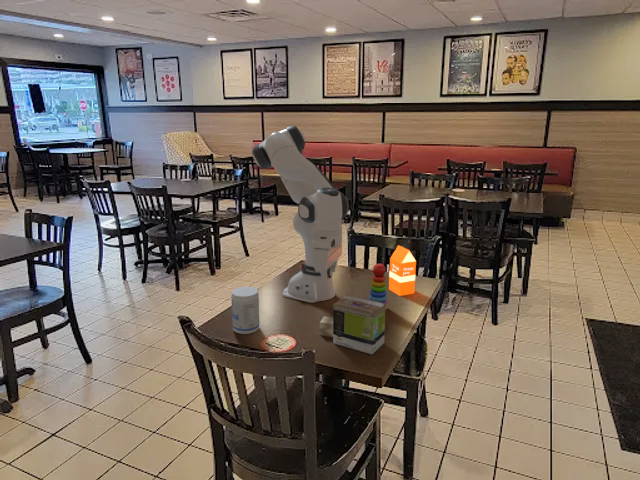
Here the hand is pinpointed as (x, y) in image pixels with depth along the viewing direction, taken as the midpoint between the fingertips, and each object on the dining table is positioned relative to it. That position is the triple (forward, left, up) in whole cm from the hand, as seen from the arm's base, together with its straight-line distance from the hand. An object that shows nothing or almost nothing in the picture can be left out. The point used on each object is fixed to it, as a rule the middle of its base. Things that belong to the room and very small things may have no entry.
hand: (329, 276), depth 156 cm
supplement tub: (-29, -7, -22) cm, 37 cm away
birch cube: (0, 0, -22) cm, 22 cm away
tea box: (+12, -4, -22) cm, 25 cm away
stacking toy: (+12, +26, -22) cm, 36 cm away
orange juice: (+18, +48, -22) cm, 56 cm away
